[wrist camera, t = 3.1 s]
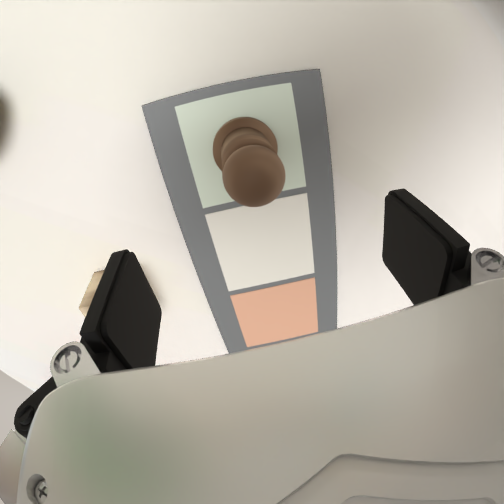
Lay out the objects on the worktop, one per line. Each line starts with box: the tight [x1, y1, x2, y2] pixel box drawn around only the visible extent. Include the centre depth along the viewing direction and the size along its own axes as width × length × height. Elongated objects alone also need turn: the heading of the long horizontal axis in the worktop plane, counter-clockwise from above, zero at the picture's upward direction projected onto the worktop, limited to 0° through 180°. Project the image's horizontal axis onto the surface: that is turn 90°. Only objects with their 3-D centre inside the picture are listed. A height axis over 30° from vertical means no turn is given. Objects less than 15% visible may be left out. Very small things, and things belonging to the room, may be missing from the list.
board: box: [142, 69, 337, 354], centre depth 27 cm, size 13×28×1 cm, turn 11°
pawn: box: [213, 117, 286, 207], centre depth 18 cm, size 5×5×8 cm
